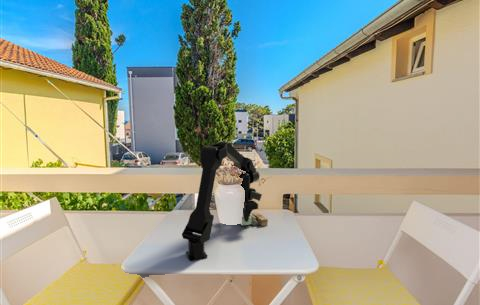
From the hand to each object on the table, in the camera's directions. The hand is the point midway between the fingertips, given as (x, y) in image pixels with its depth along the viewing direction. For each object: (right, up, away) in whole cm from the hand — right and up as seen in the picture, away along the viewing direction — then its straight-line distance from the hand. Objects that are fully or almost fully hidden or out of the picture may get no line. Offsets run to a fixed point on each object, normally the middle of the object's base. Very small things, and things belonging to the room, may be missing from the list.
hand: (243, 219), depth 131 cm
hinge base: (+6, -2, +3) cm, 7 cm away
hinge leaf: (+2, -1, +1) cm, 2 cm away
